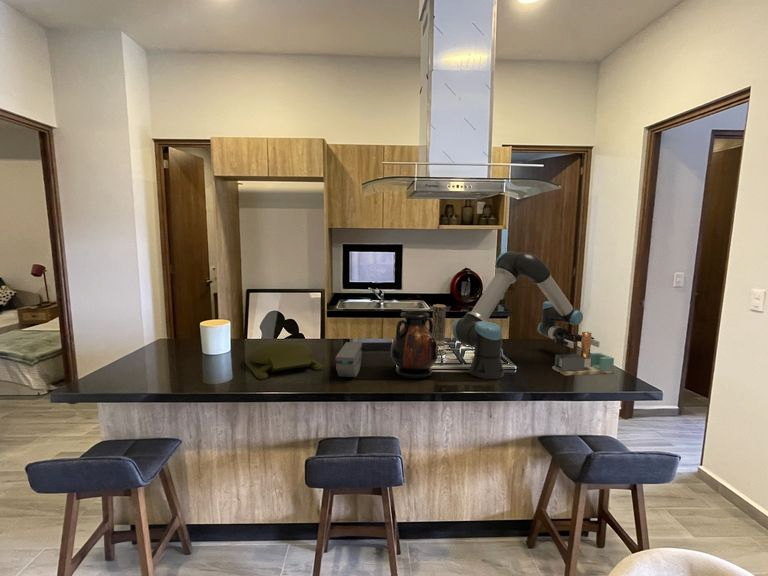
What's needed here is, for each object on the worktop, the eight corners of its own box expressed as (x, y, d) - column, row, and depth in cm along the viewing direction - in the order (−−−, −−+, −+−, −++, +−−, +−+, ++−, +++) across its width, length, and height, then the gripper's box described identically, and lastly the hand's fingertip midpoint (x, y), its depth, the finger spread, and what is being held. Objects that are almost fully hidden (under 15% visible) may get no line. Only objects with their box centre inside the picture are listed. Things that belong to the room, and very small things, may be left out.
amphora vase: (420, 363, 202) (421, 307, 199) (447, 376, 183) (449, 315, 180) (381, 370, 192) (382, 311, 188) (406, 384, 173) (407, 319, 169)
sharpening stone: (353, 382, 175) (353, 357, 173) (335, 381, 175) (335, 357, 174) (361, 364, 199) (362, 342, 198) (345, 363, 200) (346, 342, 199)
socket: (601, 370, 191) (602, 358, 190) (588, 364, 200) (589, 353, 199) (613, 370, 192) (614, 358, 191) (599, 364, 201) (600, 352, 200)
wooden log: (443, 348, 231) (445, 304, 227) (444, 351, 224) (446, 306, 221) (431, 347, 231) (433, 304, 228) (432, 351, 224) (433, 306, 221)
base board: (564, 375, 187) (564, 372, 187) (552, 368, 197) (552, 366, 197) (613, 373, 191) (613, 370, 191) (598, 366, 201) (599, 364, 201)
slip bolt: (563, 368, 190) (565, 334, 188) (558, 365, 194) (560, 332, 192) (591, 367, 192) (594, 333, 190) (586, 364, 196) (588, 331, 194)
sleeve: (562, 371, 189) (563, 358, 188) (554, 367, 195) (555, 354, 194) (583, 370, 191) (584, 357, 190) (575, 366, 197) (576, 353, 196)
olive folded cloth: (325, 370, 191) (325, 350, 190) (258, 381, 175) (257, 359, 174) (300, 352, 221) (300, 334, 220) (241, 360, 205) (240, 341, 204)
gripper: (580, 340, 217) (608, 351, 196) (536, 342, 213) (561, 353, 192) (581, 326, 216) (609, 336, 195) (537, 327, 212) (562, 337, 191)
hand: (585, 344), depth 194 cm, fingers open, 13 cm apart
